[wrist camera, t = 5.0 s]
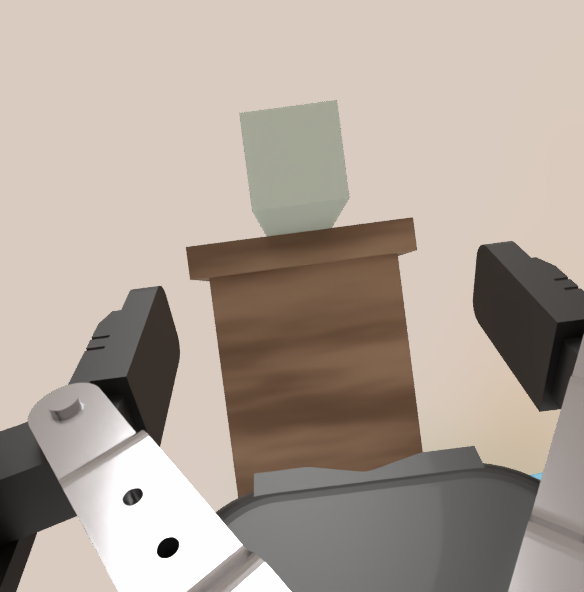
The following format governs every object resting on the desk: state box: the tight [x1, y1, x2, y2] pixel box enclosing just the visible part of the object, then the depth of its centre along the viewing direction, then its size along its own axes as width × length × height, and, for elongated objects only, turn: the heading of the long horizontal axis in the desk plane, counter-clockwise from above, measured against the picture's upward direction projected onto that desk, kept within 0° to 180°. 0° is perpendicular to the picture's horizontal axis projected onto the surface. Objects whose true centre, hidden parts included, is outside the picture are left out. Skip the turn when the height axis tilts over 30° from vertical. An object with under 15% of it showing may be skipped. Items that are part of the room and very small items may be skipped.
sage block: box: [240, 100, 349, 237], centre depth 33 cm, size 26×4×4 cm, turn 179°
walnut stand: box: [186, 218, 422, 498], centre depth 36 cm, size 12×14×32 cm
